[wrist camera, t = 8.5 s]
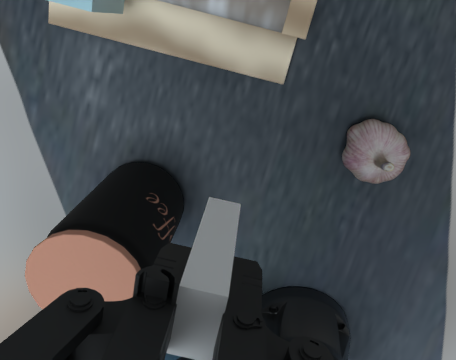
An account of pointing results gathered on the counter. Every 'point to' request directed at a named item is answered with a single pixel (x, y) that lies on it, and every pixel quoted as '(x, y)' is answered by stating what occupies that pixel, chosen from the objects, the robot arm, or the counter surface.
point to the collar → (95, 5)
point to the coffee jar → (108, 236)
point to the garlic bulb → (375, 151)
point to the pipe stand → (204, 30)
